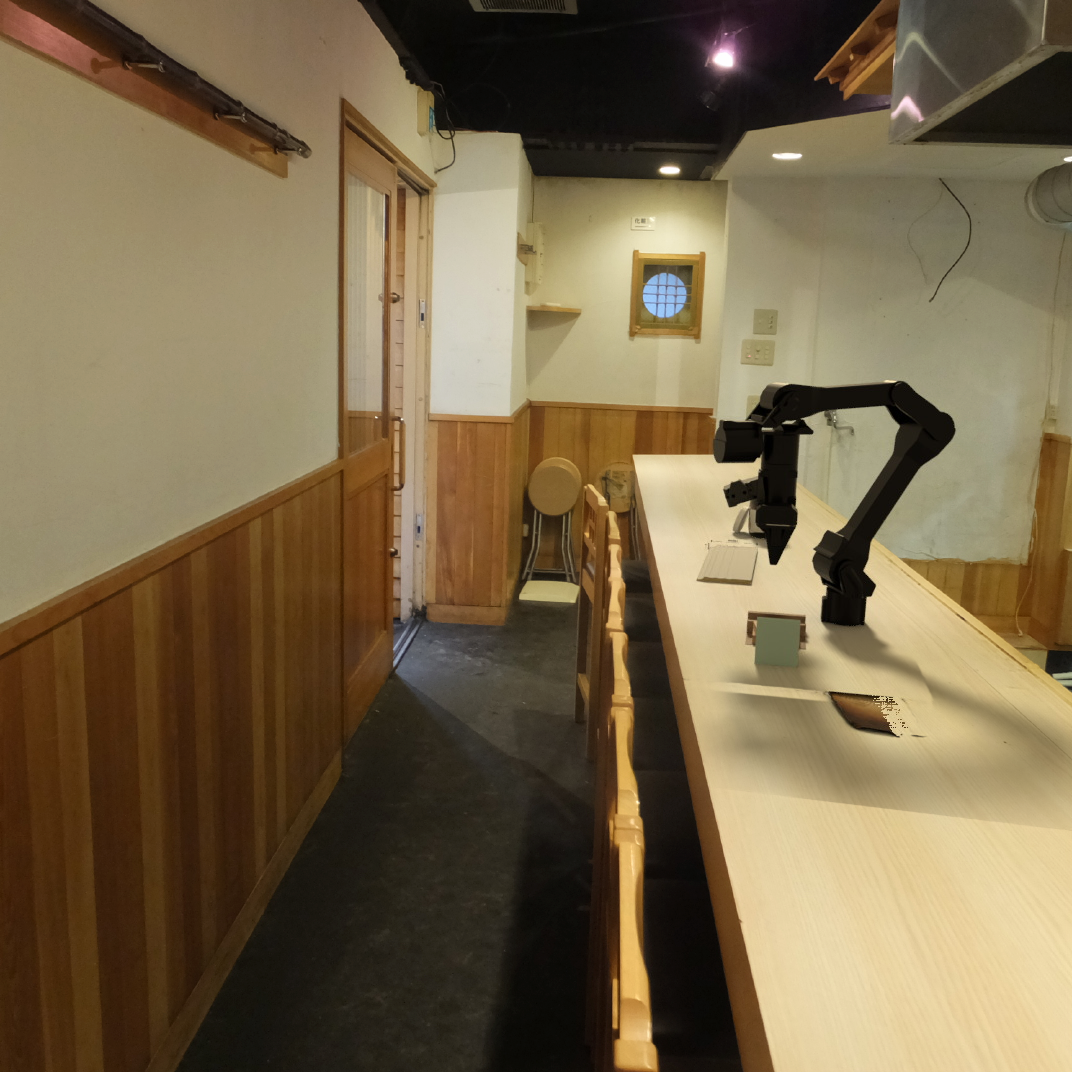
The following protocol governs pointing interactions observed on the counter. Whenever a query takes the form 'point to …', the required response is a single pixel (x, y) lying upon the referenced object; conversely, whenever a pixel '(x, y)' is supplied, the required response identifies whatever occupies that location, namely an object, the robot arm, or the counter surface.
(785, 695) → the counter surface
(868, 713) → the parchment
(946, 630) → the counter surface
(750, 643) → the rack
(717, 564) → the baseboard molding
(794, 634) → the block
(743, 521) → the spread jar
